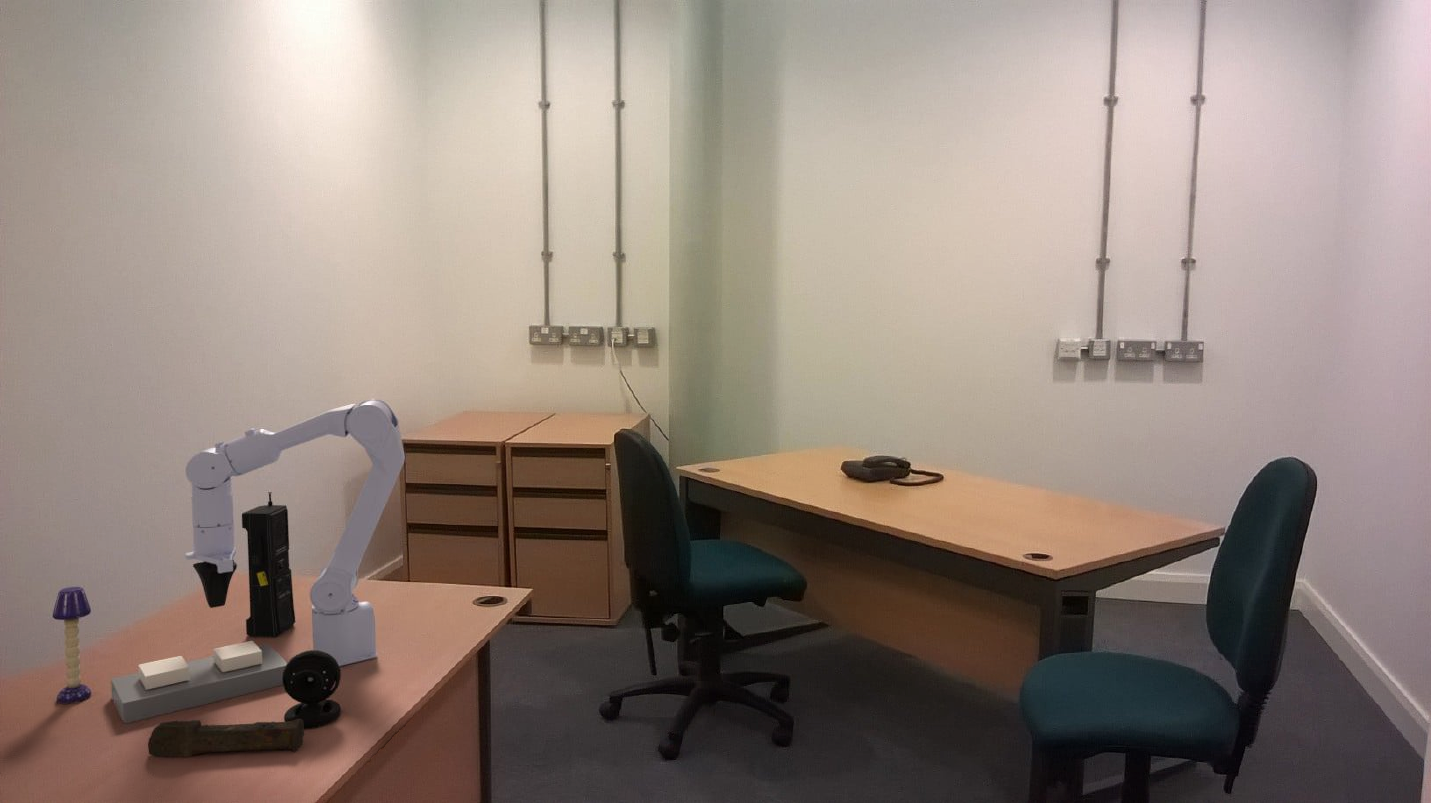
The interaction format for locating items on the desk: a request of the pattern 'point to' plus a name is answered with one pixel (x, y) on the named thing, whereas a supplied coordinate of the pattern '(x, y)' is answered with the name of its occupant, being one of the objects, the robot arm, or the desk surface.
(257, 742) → the hand tool
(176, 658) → the cap
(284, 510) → the portable radio
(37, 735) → the desk surface
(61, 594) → the toy lamp
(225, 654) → the cap
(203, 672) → the panel
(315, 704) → the webcam
